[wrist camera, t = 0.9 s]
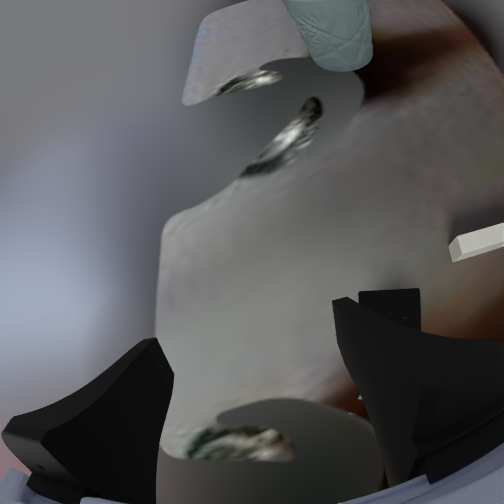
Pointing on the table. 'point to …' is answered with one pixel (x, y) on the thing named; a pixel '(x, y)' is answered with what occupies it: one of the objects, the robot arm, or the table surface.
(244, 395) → the table surface
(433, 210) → the table surface
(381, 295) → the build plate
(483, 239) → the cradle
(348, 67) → the pale green cup
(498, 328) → the table surface
